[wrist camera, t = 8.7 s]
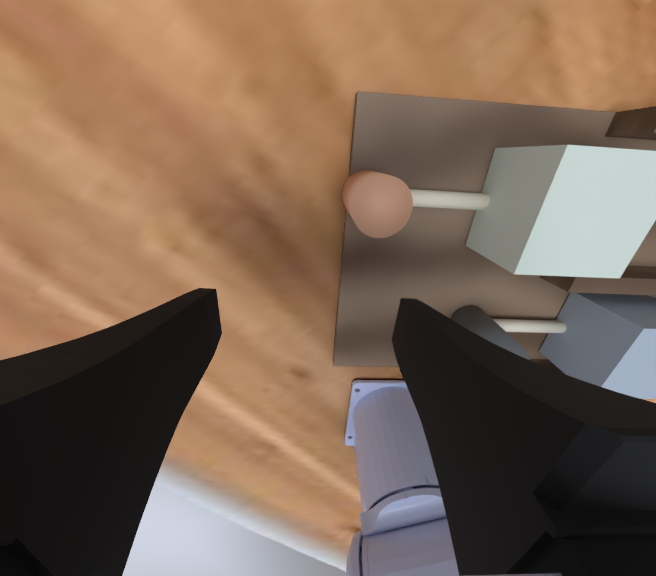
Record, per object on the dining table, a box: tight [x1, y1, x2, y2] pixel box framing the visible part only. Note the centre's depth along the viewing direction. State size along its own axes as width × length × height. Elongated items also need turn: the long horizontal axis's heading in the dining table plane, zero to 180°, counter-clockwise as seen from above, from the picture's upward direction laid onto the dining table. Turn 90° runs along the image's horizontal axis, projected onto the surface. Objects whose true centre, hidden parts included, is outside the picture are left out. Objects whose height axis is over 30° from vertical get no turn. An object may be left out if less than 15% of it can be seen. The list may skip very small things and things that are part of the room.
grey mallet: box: [451, 292, 656, 399], centre depth 19 cm, size 6×15×5 cm, turn 87°
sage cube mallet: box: [342, 145, 656, 278], centre depth 14 cm, size 6×15×5 cm, turn 87°
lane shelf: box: [333, 91, 656, 374], centre depth 19 cm, size 20×28×3 cm
